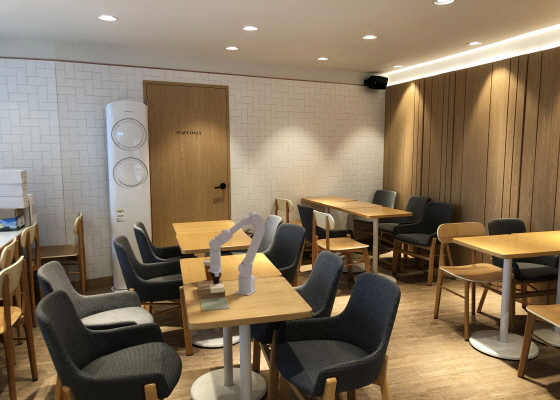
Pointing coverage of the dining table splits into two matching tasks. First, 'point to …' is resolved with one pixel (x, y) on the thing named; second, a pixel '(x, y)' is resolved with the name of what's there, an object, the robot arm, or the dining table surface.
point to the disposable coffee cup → (207, 267)
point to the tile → (217, 288)
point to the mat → (214, 304)
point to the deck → (208, 290)
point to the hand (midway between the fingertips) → (216, 286)
